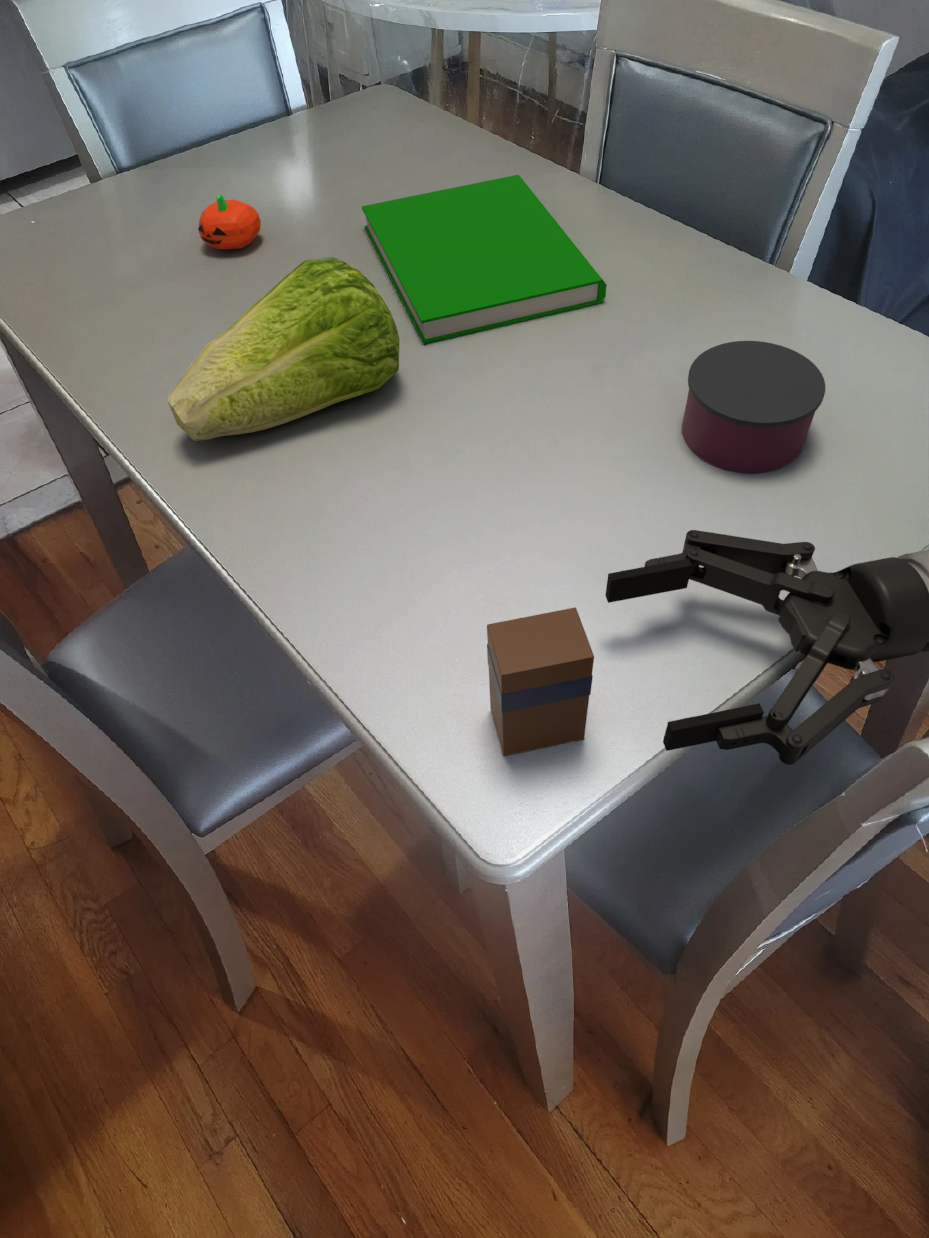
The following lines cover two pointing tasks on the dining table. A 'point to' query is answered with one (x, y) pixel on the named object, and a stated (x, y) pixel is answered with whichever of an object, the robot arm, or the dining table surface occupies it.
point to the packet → (539, 680)
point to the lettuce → (290, 354)
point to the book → (479, 258)
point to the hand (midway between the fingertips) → (635, 657)
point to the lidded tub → (750, 405)
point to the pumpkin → (228, 224)
